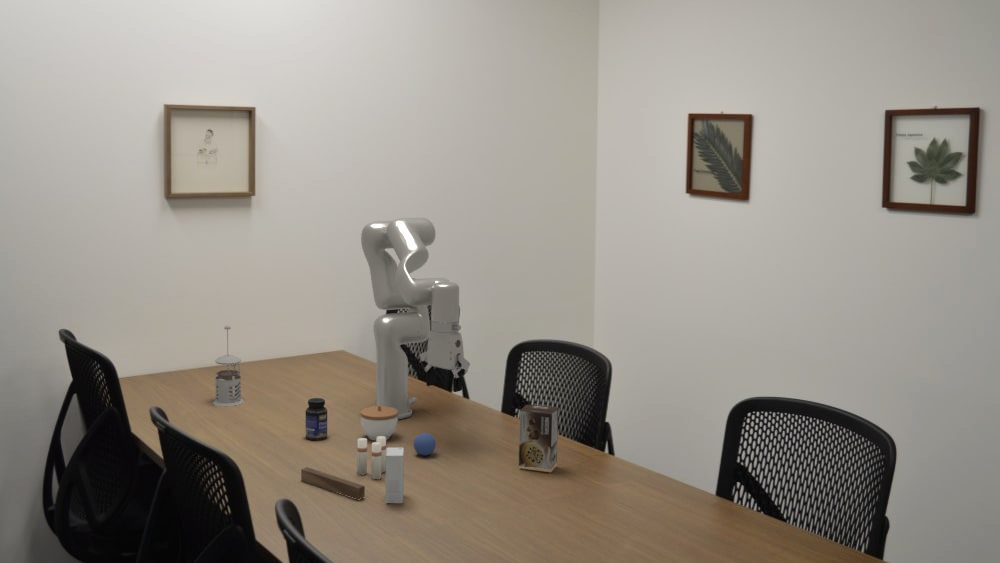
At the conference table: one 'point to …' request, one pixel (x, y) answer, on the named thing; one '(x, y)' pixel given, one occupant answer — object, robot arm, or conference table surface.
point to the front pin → (383, 448)
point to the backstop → (332, 483)
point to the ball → (424, 444)
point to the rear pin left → (376, 460)
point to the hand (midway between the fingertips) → (444, 388)
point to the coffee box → (538, 436)
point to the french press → (228, 381)
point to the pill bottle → (316, 419)
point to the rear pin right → (362, 456)
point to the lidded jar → (379, 421)
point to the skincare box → (394, 475)
